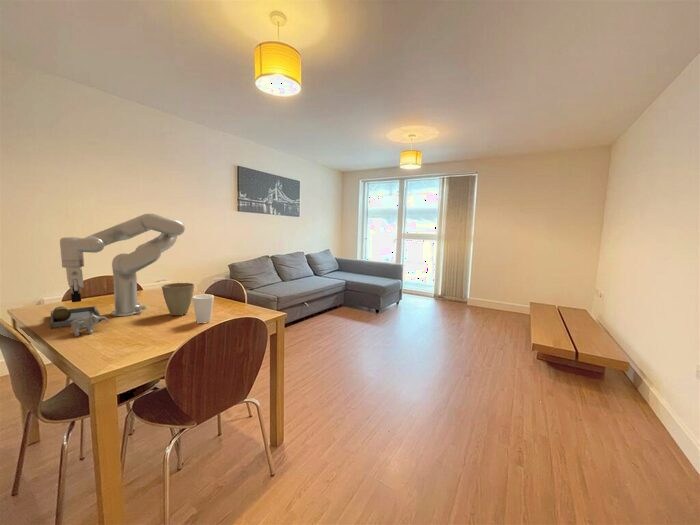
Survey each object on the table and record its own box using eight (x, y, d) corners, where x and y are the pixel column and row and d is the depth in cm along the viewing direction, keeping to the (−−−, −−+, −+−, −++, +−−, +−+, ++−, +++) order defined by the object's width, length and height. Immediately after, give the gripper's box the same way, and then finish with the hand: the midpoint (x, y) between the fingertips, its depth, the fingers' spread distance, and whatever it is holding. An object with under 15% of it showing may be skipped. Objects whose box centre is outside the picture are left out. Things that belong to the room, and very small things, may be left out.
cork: (74, 314, 137) (72, 310, 144) (62, 306, 134) (60, 302, 141) (61, 324, 134) (60, 319, 141) (48, 316, 131) (47, 311, 138)
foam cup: (217, 320, 147) (217, 296, 145) (201, 325, 138) (201, 299, 137) (205, 317, 150) (204, 293, 149) (188, 322, 142) (188, 296, 141)
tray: (100, 321, 137) (100, 316, 137) (50, 328, 126) (50, 323, 125) (95, 310, 154) (95, 306, 153) (51, 316, 142) (50, 311, 141)
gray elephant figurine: (66, 334, 121) (64, 317, 120) (100, 325, 132) (98, 309, 131) (78, 339, 117) (76, 321, 116) (112, 329, 128) (110, 312, 127)
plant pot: (199, 310, 162) (199, 283, 160) (185, 318, 147) (185, 288, 146) (172, 309, 162) (172, 282, 160) (155, 317, 147) (155, 287, 145)
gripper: (85, 264, 132) (88, 303, 135) (82, 261, 143) (85, 297, 145) (62, 266, 127) (66, 306, 129) (61, 262, 137) (65, 299, 139)
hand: (76, 301), depth 137 cm, fingers closed
